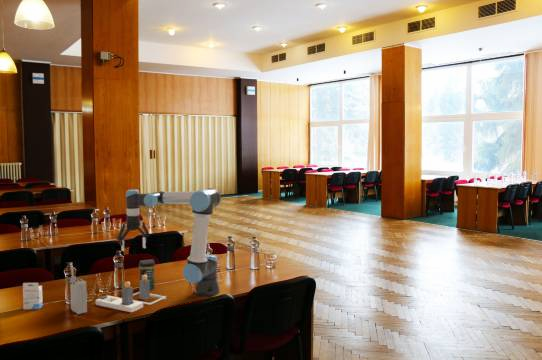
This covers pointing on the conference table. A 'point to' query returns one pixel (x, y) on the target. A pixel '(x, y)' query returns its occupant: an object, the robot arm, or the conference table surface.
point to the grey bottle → (144, 288)
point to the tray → (151, 296)
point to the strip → (118, 303)
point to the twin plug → (127, 294)
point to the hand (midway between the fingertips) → (133, 249)
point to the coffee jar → (147, 271)
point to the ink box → (32, 296)
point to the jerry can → (78, 294)
